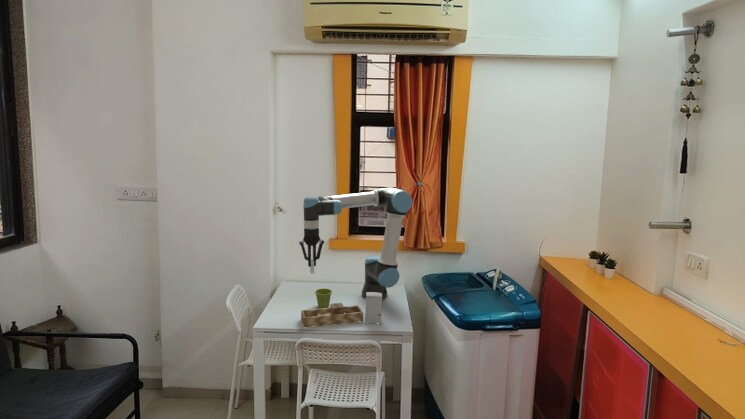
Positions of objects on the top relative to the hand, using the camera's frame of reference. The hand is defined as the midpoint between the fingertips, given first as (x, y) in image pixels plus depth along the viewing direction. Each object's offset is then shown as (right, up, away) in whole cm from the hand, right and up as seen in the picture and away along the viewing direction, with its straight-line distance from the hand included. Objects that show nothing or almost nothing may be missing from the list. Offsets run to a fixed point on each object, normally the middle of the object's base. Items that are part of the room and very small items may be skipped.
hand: (312, 272), depth 234 cm
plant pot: (+4, -21, +15) cm, 26 cm away
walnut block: (+13, -21, -3) cm, 25 cm away
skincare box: (+31, -25, -4) cm, 40 cm away
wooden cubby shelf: (+11, -24, -4) cm, 26 cm away
